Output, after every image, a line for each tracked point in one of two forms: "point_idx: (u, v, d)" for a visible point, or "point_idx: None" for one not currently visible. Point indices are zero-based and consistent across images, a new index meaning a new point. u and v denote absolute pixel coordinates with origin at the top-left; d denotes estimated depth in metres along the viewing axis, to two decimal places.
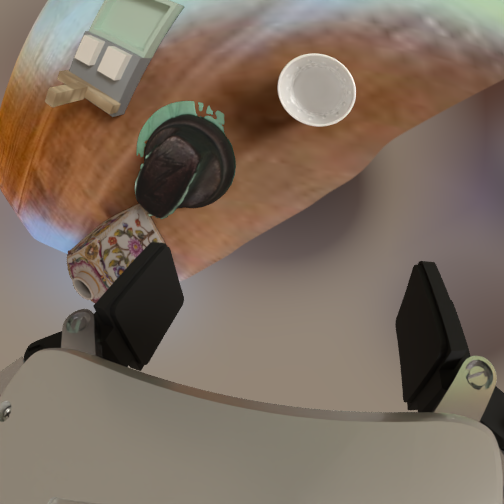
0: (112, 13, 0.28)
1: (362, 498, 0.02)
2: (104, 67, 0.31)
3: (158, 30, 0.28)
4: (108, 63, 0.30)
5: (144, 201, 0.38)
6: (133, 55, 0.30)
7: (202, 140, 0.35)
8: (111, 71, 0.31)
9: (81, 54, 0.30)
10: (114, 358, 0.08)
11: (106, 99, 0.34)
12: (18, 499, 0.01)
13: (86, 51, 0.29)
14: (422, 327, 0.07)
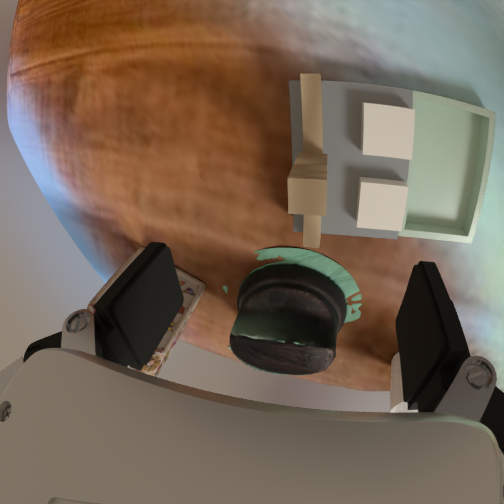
0: (444, 115, 0.20)
1: (362, 498, 0.02)
2: (371, 197, 0.23)
3: (436, 237, 0.25)
4: (381, 203, 0.23)
5: (239, 343, 0.33)
6: None
7: None
8: (369, 215, 0.24)
9: (376, 122, 0.19)
10: (114, 358, 0.08)
11: (320, 226, 0.26)
12: (18, 499, 0.01)
13: (386, 134, 0.19)
14: (422, 327, 0.07)
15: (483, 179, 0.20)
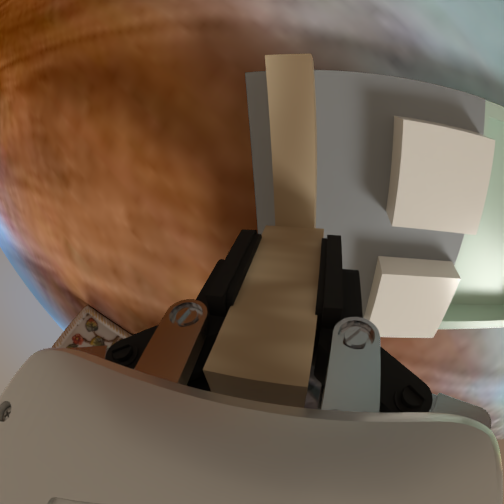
0: None
1: (362, 498, 0.02)
2: (396, 296, 0.12)
3: (475, 326, 0.15)
4: (410, 304, 0.12)
5: None
6: None
7: None
8: (387, 321, 0.13)
9: (426, 162, 0.09)
10: None
11: None
12: (18, 499, 0.01)
13: (441, 188, 0.09)
14: None
15: None
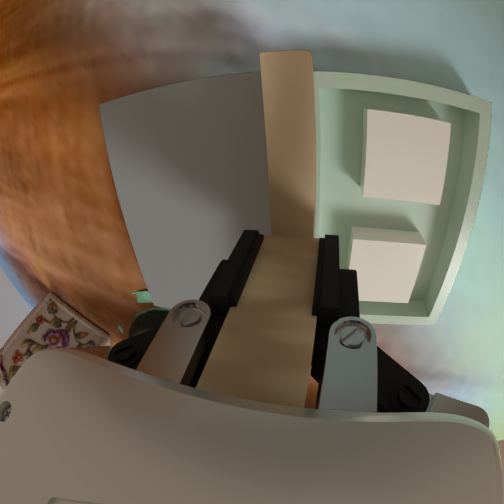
0: None
1: (362, 498, 0.02)
2: None
3: (371, 320, 0.17)
4: None
5: None
6: None
7: None
8: None
9: None
10: None
11: None
12: (18, 499, 0.01)
13: None
14: None
15: (463, 229, 0.12)
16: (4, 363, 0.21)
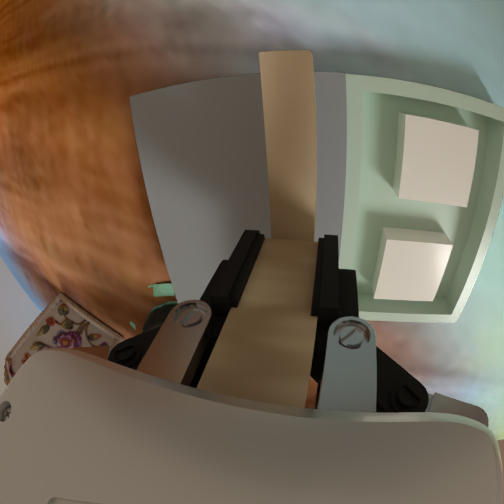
0: None
1: (362, 498, 0.02)
2: None
3: (398, 318, 0.17)
4: None
5: None
6: None
7: None
8: None
9: None
10: None
11: None
12: (18, 499, 0.01)
13: None
14: None
15: (487, 230, 0.12)
16: (13, 366, 0.21)
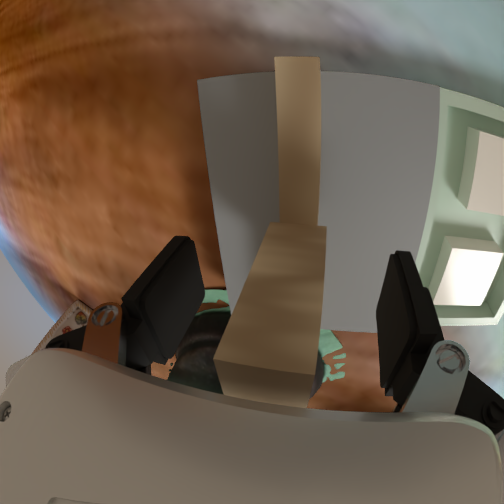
0: None
1: (362, 498, 0.02)
2: None
3: (450, 323, 0.16)
4: None
5: None
6: None
7: None
8: None
9: None
10: (139, 355, 0.08)
11: None
12: (18, 499, 0.01)
13: None
14: (395, 313, 0.07)
15: None
16: None
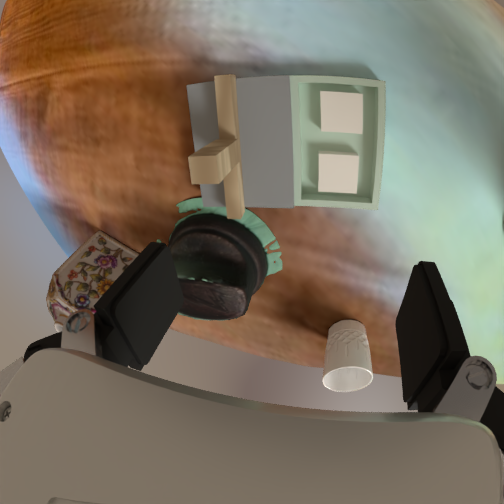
0: None
1: (362, 498, 0.02)
2: None
3: (336, 205, 0.31)
4: None
5: None
6: (291, 195, 0.31)
7: (252, 290, 0.38)
8: None
9: None
10: (114, 358, 0.08)
11: (240, 200, 0.31)
12: (18, 499, 0.01)
13: None
14: (422, 327, 0.07)
15: (378, 146, 0.26)
16: (60, 280, 0.34)
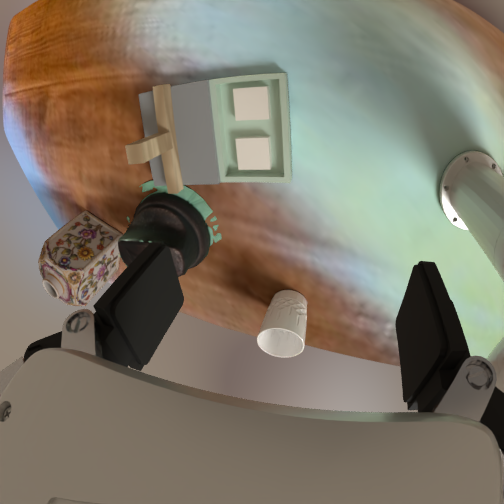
0: None
1: (362, 498, 0.02)
2: None
3: (253, 180, 0.38)
4: None
5: (122, 249, 0.44)
6: (216, 173, 0.38)
7: (193, 254, 0.45)
8: None
9: None
10: (114, 358, 0.08)
11: (176, 179, 0.38)
12: (18, 499, 0.01)
13: None
14: (422, 327, 0.07)
15: (283, 127, 0.33)
16: (49, 246, 0.42)
